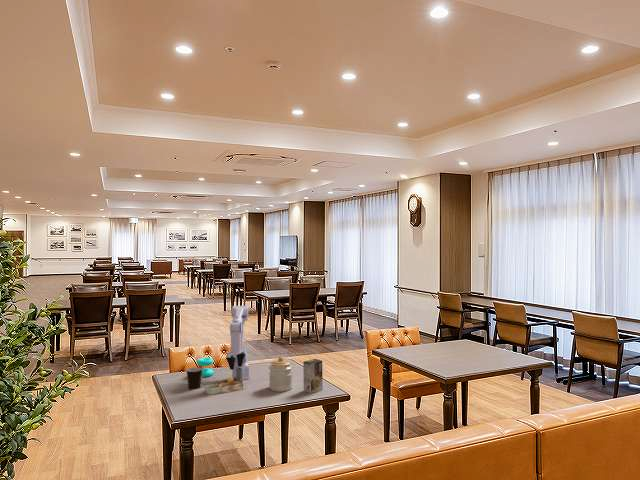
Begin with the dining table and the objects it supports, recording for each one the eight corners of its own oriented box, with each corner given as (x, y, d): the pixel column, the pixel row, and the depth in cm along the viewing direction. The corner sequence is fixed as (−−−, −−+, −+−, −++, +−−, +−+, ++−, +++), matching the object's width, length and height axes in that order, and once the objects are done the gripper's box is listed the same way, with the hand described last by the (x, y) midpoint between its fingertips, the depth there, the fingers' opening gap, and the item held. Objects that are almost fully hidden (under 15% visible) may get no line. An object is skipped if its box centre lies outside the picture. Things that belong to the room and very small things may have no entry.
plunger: (238, 379, 261) (238, 367, 261) (242, 382, 256) (242, 369, 256) (233, 380, 259) (233, 367, 259) (237, 383, 255) (237, 370, 255)
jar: (276, 383, 265) (276, 352, 265) (296, 386, 259) (296, 355, 259) (264, 390, 253) (264, 358, 253) (284, 393, 247) (284, 360, 247)
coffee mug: (198, 390, 253) (198, 372, 253) (183, 389, 254) (183, 371, 254) (207, 383, 264) (207, 366, 264) (193, 382, 266) (193, 365, 266)
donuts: (193, 359, 279) (205, 356, 288) (193, 376, 279) (205, 372, 288) (204, 362, 274) (216, 358, 283) (204, 378, 274) (216, 374, 283)
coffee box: (314, 387, 258) (314, 358, 258) (322, 389, 254) (322, 360, 254) (302, 390, 252) (302, 361, 252) (311, 393, 247) (310, 363, 247)
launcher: (236, 384, 262) (236, 377, 262) (243, 389, 255) (243, 381, 255) (215, 388, 255) (215, 381, 255) (221, 393, 247) (221, 385, 248)
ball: (232, 382, 258) (232, 375, 258) (234, 383, 255) (234, 377, 255) (226, 383, 256) (226, 376, 256) (228, 384, 253) (228, 378, 253)
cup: (216, 389, 254) (216, 383, 254) (221, 392, 248) (221, 387, 248) (204, 391, 250) (204, 386, 250) (209, 395, 245) (209, 389, 245)
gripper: (237, 341, 268) (237, 364, 268) (222, 345, 255) (222, 370, 255) (247, 342, 265) (247, 365, 265) (232, 346, 252) (232, 371, 252)
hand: (235, 367), depth 260 cm, fingers open, 7 cm apart
